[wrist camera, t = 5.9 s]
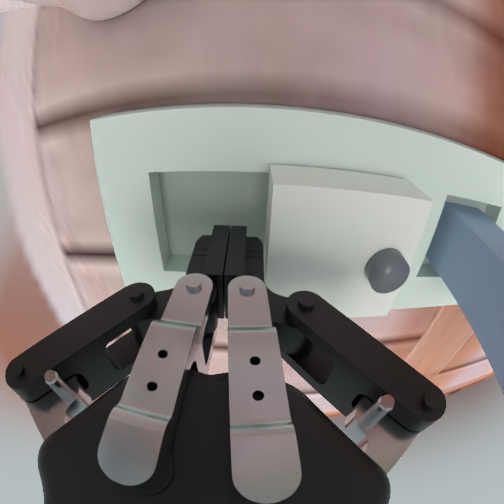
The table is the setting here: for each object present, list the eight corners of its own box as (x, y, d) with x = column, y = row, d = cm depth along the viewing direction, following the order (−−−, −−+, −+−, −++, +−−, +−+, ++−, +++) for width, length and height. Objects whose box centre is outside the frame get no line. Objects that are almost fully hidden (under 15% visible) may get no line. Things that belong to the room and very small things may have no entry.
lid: (269, 164, 12) (274, 192, 9) (408, 179, 12) (442, 209, 9) (261, 285, 16) (262, 330, 13) (374, 286, 16) (391, 326, 13)
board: (112, 112, 12) (89, 120, 10) (511, 164, 13) (531, 176, 11) (141, 279, 19) (130, 302, 17) (464, 284, 20) (476, 302, 18)
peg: (441, 200, 14) (559, 345, 4) (477, 207, 14) (580, 330, 4) (422, 252, 16) (506, 400, 7) (459, 253, 16) (538, 379, 7)
